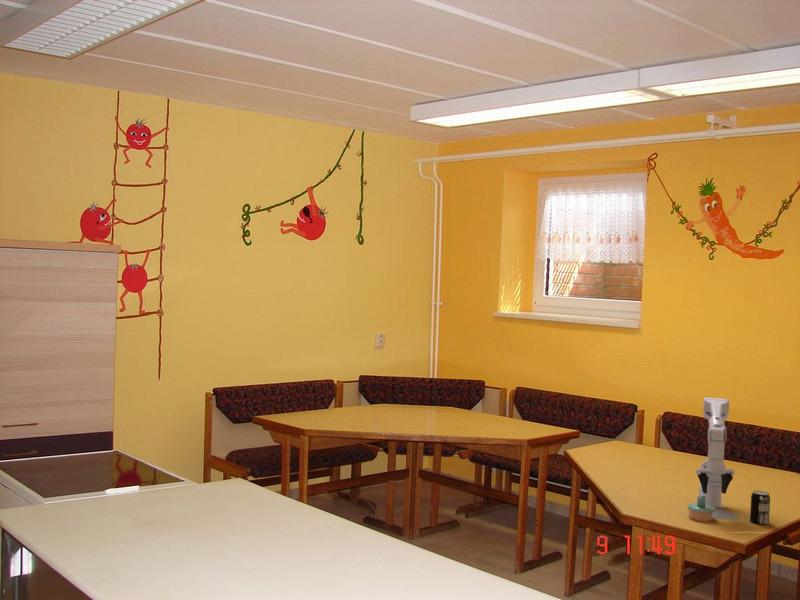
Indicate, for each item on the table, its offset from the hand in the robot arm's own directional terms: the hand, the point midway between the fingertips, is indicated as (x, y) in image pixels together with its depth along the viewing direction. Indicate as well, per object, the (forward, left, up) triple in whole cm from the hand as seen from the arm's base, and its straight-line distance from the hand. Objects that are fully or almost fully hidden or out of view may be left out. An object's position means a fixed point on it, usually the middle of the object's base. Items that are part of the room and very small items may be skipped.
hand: (714, 492), depth 316 cm
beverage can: (+7, +15, -10) cm, 19 cm away
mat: (-4, +5, -10) cm, 11 cm away
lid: (+2, -6, -6) cm, 8 cm away
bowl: (+2, -6, -10) cm, 12 cm away
